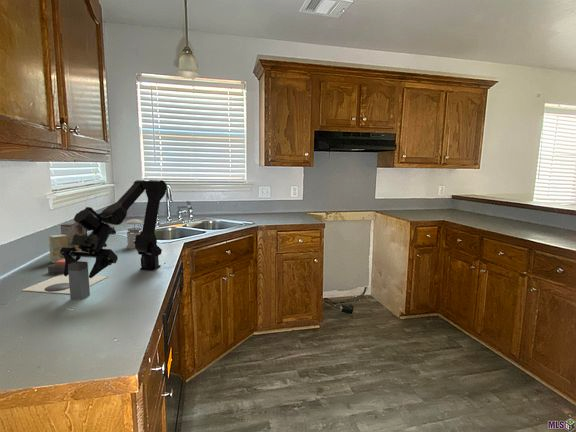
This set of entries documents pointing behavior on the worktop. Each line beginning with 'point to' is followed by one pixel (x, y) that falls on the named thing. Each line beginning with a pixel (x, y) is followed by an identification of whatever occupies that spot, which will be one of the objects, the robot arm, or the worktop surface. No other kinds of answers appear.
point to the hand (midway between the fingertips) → (77, 276)
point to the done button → (60, 262)
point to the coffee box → (73, 232)
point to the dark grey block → (78, 280)
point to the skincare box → (57, 246)
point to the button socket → (56, 269)
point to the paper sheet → (59, 284)
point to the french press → (133, 232)
